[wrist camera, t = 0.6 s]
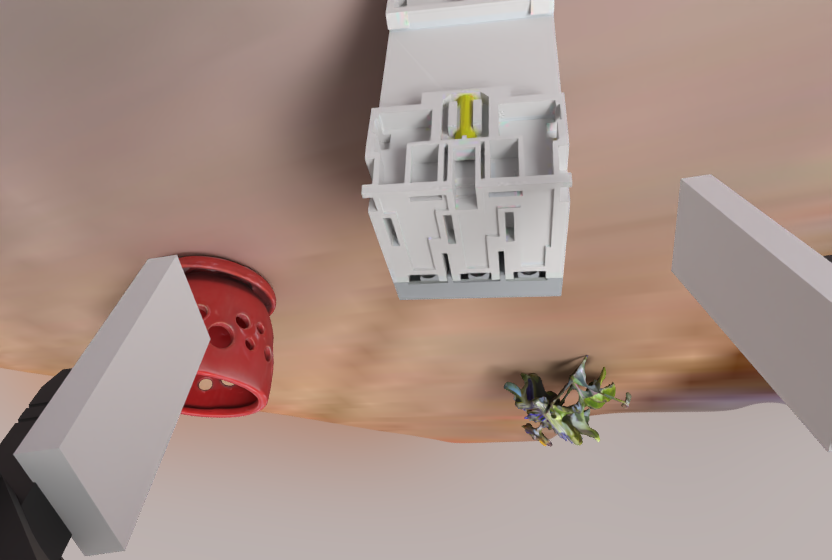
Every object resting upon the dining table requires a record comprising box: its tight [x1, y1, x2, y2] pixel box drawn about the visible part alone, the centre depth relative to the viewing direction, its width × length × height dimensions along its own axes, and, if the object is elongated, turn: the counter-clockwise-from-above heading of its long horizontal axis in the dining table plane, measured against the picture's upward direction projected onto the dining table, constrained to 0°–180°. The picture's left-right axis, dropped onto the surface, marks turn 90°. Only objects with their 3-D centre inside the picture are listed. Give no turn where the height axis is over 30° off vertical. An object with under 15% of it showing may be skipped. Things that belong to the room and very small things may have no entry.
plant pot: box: [178, 256, 276, 418], centre depth 54 cm, size 13×13×12 cm
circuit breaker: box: [361, 0, 572, 300], centre depth 31 cm, size 8×14×15 cm, turn 9°
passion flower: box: [504, 355, 631, 446], centre depth 67 cm, size 11×11×12 cm
